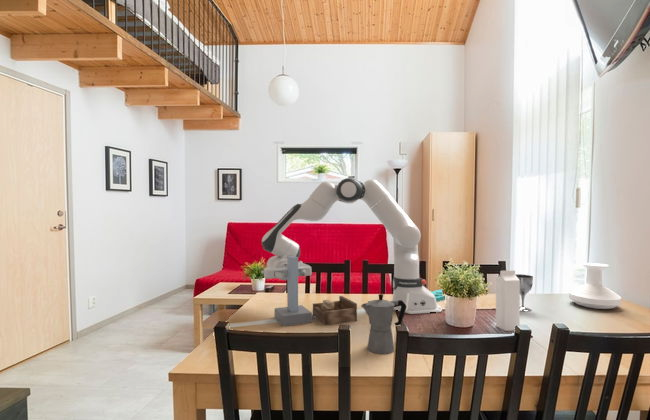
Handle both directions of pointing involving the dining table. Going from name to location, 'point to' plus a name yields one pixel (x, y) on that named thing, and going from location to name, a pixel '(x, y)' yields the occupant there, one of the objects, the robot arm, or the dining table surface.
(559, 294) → the dining table surface
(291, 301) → the panel
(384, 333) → the coffeepot
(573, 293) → the candle holder
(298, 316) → the stand
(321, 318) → the brown wooden box
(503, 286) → the milk
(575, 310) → the dining table surface
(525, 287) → the wine glass
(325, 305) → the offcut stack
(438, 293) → the alien figure
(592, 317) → the dining table surface
